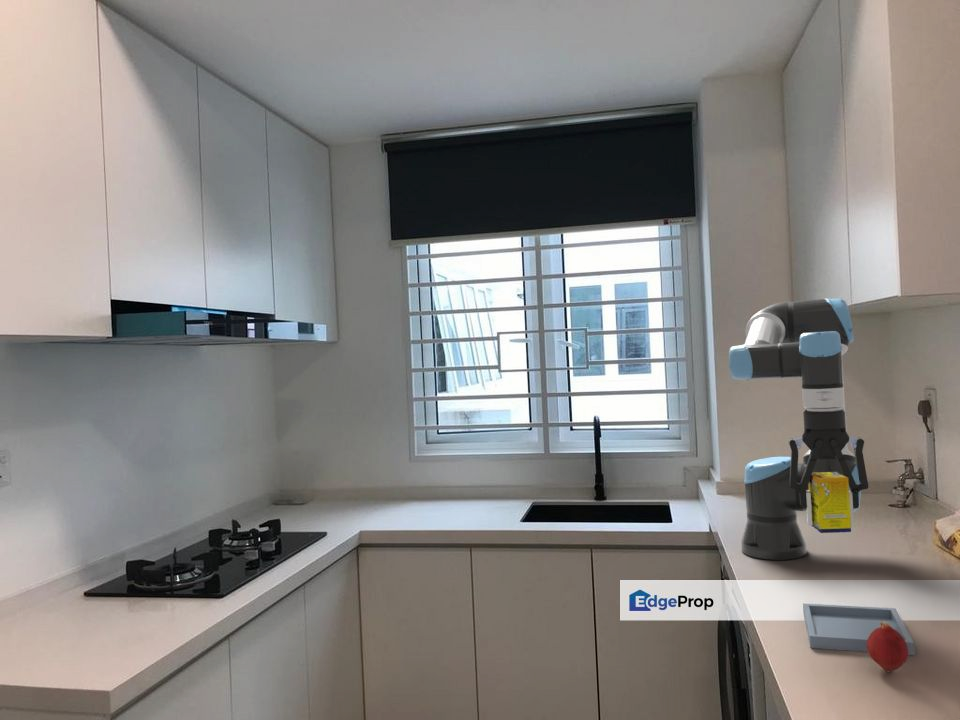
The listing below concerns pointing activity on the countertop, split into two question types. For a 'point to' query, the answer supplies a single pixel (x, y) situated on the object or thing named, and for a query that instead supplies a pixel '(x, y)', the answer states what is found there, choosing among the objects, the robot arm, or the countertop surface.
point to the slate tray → (849, 626)
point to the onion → (887, 647)
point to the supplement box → (830, 502)
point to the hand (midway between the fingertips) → (830, 523)
